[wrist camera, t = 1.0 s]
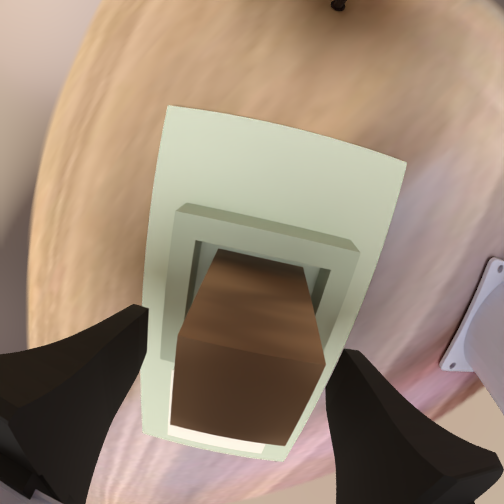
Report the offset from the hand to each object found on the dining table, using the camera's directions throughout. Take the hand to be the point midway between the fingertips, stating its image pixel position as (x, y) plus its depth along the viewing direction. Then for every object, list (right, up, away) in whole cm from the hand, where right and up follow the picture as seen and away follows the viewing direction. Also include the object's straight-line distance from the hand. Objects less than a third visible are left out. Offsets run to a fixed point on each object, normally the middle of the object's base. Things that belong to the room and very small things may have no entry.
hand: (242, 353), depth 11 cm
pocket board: (0, -1, +6) cm, 6 cm away
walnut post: (0, +1, +4) cm, 5 cm away
